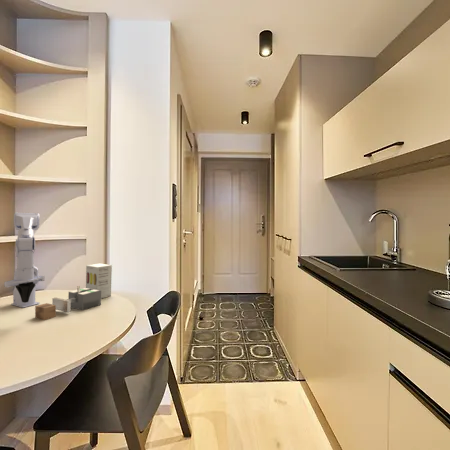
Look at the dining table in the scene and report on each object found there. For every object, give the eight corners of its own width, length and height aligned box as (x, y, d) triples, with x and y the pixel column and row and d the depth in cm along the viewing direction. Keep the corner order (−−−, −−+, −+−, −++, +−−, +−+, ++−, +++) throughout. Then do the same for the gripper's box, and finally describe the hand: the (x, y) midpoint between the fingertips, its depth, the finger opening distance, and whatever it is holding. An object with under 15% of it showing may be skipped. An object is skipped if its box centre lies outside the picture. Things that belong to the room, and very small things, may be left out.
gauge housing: (83, 310, 144) (83, 294, 143) (68, 306, 148) (68, 291, 148) (100, 304, 153) (101, 289, 152) (86, 301, 157) (86, 287, 157)
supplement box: (84, 296, 166) (85, 265, 165) (99, 293, 174) (100, 263, 173) (97, 299, 161) (97, 266, 161) (111, 295, 169) (112, 264, 169)
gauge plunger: (67, 312, 136) (67, 291, 136) (52, 308, 141) (52, 288, 141) (87, 306, 146) (88, 287, 146) (73, 302, 150) (73, 284, 150)
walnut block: (35, 317, 132) (35, 305, 132) (46, 314, 136) (46, 303, 136) (44, 320, 129) (44, 308, 129) (55, 316, 134) (55, 305, 134)
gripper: (12, 271, 116) (11, 308, 117) (49, 266, 129) (48, 299, 130) (1, 269, 119) (0, 305, 120) (38, 264, 132) (38, 296, 133)
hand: (25, 301), depth 125 cm, fingers closed
